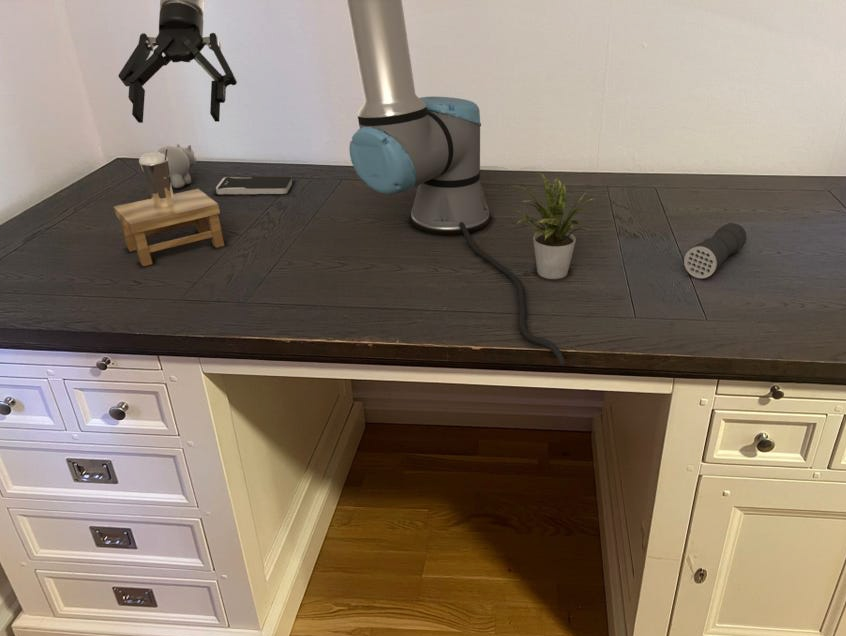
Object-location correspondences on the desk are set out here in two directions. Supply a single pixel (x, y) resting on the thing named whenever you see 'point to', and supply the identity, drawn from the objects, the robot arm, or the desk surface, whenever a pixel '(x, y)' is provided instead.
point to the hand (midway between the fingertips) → (176, 118)
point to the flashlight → (714, 250)
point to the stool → (169, 222)
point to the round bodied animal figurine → (179, 164)
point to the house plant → (553, 233)
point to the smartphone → (254, 185)
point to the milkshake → (158, 178)
